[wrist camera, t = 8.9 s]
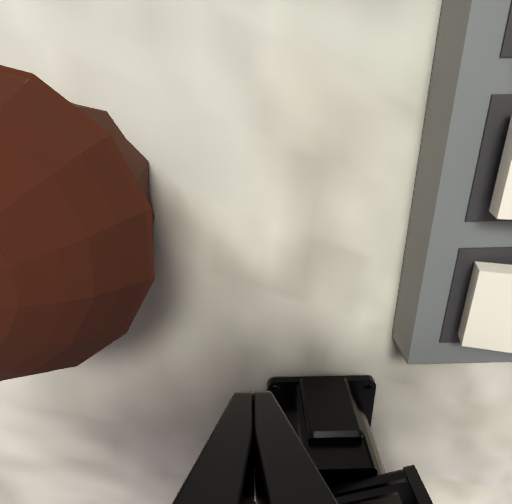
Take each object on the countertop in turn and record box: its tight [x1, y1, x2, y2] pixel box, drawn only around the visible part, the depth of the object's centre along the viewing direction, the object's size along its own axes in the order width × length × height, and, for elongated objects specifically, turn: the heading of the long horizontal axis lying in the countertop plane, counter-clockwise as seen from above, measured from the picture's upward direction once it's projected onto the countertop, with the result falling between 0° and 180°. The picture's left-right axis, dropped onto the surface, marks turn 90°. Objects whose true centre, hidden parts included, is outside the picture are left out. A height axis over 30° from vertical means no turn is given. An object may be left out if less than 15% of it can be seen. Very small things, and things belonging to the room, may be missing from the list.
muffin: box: [0, 65, 154, 381], centre depth 15 cm, size 12×11×10 cm
